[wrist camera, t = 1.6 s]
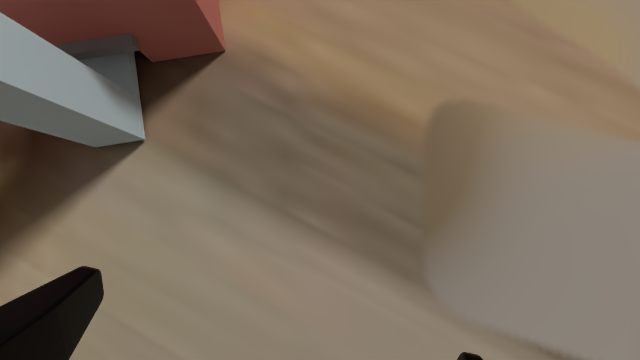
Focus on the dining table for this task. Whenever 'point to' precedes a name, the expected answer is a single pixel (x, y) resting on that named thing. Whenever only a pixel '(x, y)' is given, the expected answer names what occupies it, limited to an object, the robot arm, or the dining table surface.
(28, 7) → the block
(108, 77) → the light blue l-shaped piece
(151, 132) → the dining table surface
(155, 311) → the dining table surface
